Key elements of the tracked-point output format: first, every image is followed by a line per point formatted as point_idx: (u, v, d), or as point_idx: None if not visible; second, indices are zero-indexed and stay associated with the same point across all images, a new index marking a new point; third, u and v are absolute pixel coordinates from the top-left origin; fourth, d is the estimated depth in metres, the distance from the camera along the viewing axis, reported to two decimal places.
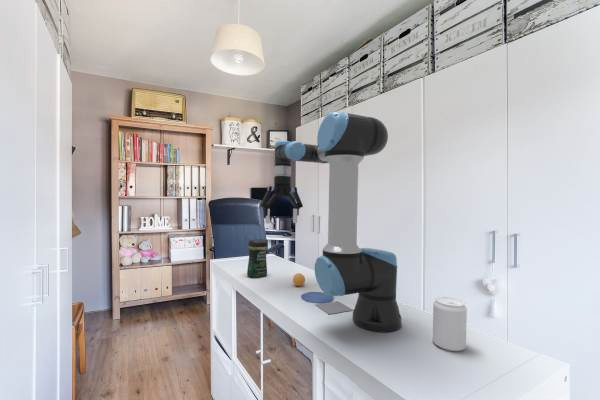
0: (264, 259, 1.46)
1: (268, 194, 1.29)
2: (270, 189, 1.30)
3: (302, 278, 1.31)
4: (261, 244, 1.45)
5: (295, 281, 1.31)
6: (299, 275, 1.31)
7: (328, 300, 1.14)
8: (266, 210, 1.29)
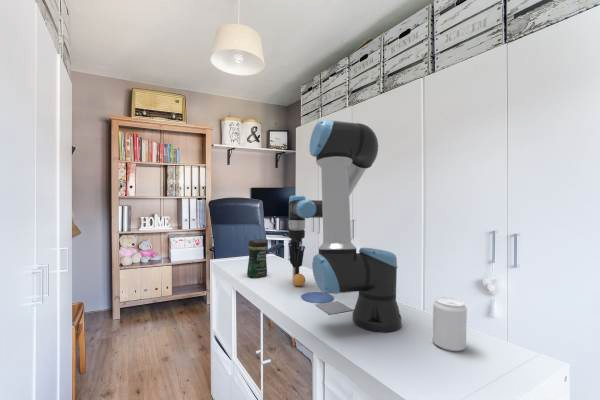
0: (264, 259, 1.46)
1: None
2: None
3: (302, 279, 1.31)
4: (261, 244, 1.45)
5: (295, 281, 1.31)
6: (299, 275, 1.31)
7: (328, 300, 1.14)
8: None
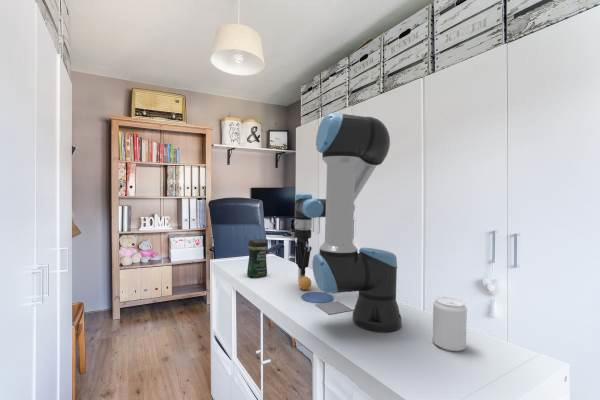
0: (264, 259, 1.46)
1: None
2: None
3: (308, 287, 1.26)
4: (261, 244, 1.45)
5: (300, 286, 1.26)
6: (306, 284, 1.25)
7: (328, 300, 1.14)
8: None
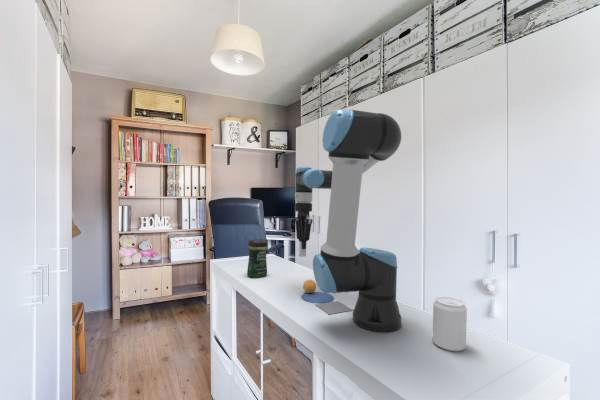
0: (264, 259, 1.46)
1: None
2: None
3: None
4: (261, 244, 1.45)
5: (303, 287, 1.23)
6: None
7: (328, 300, 1.14)
8: None
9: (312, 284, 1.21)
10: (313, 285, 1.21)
